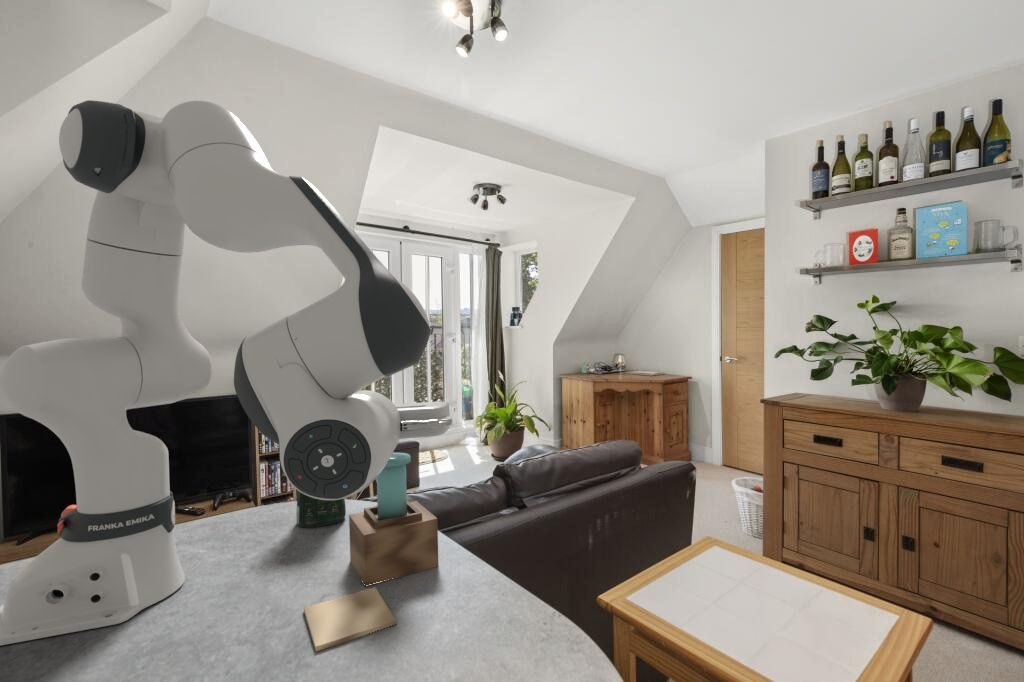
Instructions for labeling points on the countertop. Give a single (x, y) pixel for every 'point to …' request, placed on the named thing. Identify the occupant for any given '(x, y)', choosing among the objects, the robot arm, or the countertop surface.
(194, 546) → the countertop surface
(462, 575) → the countertop surface
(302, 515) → the coffee jar
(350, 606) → the cork mat
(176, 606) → the countertop surface
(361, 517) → the walnut box
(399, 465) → the stopper cap
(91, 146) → the robot arm
